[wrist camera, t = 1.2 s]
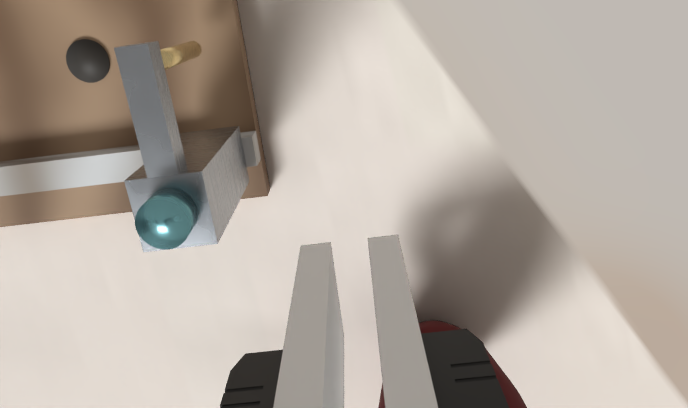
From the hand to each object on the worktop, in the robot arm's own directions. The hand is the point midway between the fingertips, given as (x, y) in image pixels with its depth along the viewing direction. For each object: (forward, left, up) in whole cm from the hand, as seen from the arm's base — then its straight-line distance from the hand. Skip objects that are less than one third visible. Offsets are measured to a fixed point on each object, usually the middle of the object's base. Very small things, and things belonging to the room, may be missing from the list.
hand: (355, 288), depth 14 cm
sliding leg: (-7, +2, -16) cm, 17 cm away
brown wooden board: (-18, +3, -18) cm, 26 cm away
